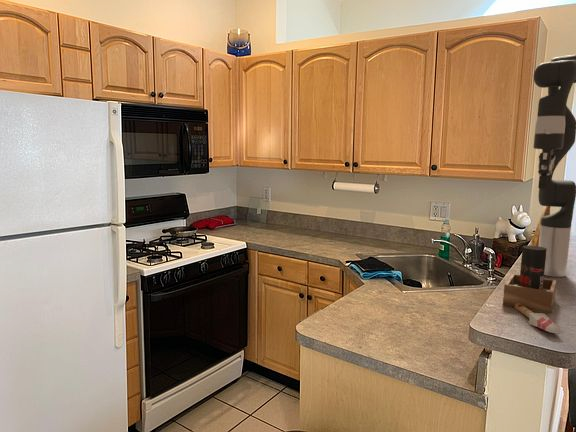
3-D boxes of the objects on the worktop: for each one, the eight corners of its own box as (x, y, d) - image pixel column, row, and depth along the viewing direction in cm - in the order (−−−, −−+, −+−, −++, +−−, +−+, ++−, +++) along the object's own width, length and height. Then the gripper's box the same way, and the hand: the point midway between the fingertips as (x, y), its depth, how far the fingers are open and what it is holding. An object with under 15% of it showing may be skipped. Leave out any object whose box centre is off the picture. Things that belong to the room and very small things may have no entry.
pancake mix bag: (552, 255, 187) (559, 189, 183) (545, 264, 172) (552, 192, 168) (534, 253, 191) (540, 188, 187) (526, 261, 176) (532, 191, 172)
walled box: (510, 292, 136) (512, 273, 135) (554, 300, 129) (556, 280, 128) (502, 305, 124) (504, 284, 123) (550, 314, 118) (552, 292, 117)
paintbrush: (548, 326, 102) (511, 301, 121) (547, 337, 102) (510, 310, 122) (566, 326, 101) (525, 301, 121) (565, 338, 102) (525, 311, 121)
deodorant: (520, 294, 131) (525, 244, 128) (543, 299, 127) (548, 247, 125) (515, 299, 126) (520, 247, 124) (539, 304, 122) (544, 251, 120)
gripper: (537, 133, 137) (532, 186, 140) (532, 131, 126) (526, 188, 128) (565, 133, 133) (560, 187, 136) (563, 131, 122) (557, 190, 124)
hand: (544, 188), depth 132 cm, fingers open, 8 cm apart
